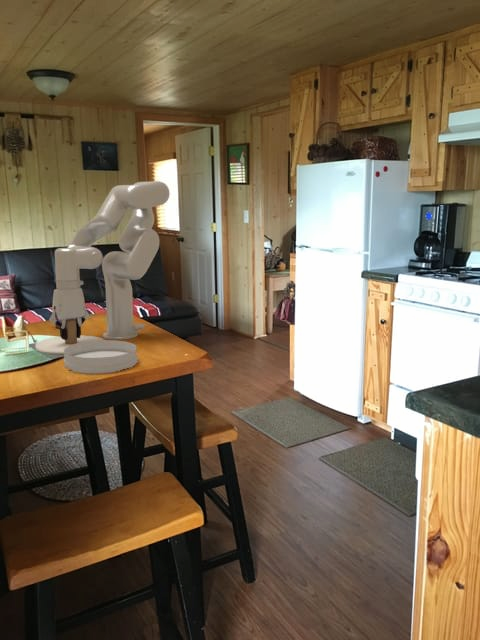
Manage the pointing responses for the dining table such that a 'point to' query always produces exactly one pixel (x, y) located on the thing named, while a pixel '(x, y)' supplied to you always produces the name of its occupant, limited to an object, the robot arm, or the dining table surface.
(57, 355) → the mat
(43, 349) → the lid
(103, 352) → the dish
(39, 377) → the dining table surface
